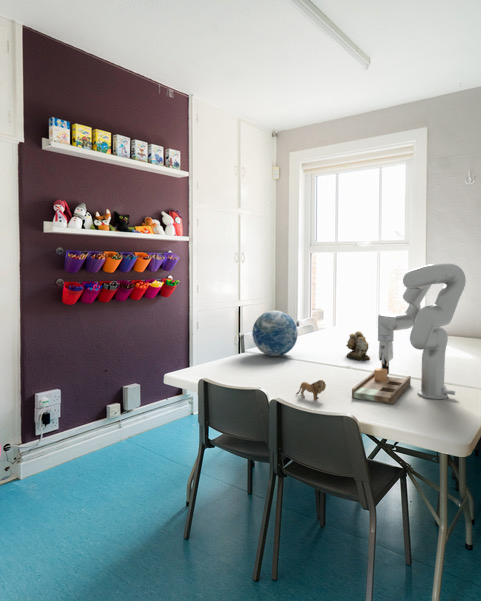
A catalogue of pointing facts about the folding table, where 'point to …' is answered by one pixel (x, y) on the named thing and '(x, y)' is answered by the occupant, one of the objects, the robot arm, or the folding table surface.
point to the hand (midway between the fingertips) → (385, 373)
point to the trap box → (381, 389)
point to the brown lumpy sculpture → (357, 347)
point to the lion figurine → (313, 388)
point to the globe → (274, 333)
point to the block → (380, 374)
